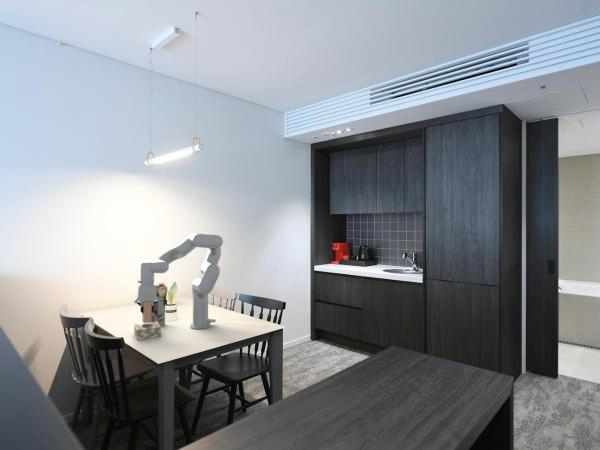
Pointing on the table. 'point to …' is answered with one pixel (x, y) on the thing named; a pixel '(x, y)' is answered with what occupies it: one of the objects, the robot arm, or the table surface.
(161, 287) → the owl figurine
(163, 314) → the coffee box
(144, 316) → the terracotta peg
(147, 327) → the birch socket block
